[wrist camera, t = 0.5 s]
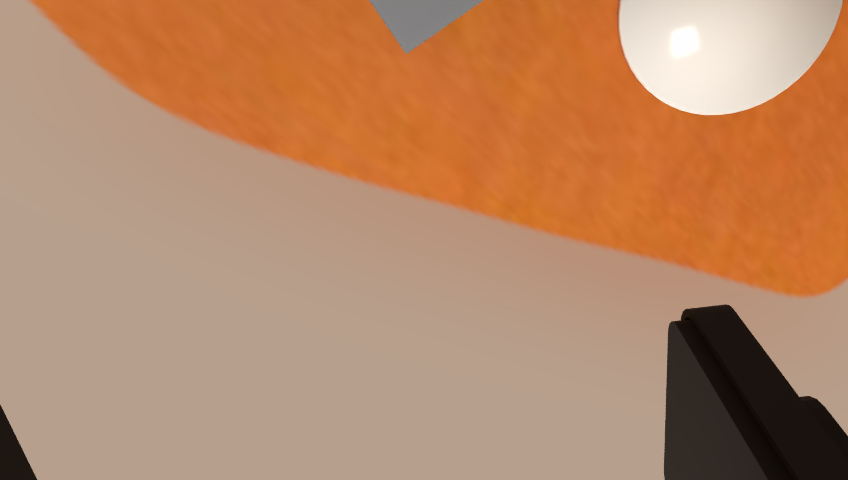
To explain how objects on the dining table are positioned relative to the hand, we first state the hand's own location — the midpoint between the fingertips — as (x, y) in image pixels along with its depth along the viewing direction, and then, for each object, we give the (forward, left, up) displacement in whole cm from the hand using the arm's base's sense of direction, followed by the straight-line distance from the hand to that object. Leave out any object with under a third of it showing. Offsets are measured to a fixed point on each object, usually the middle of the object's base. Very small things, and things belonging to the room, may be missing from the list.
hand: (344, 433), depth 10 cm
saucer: (-14, +7, -26) cm, 31 cm away
